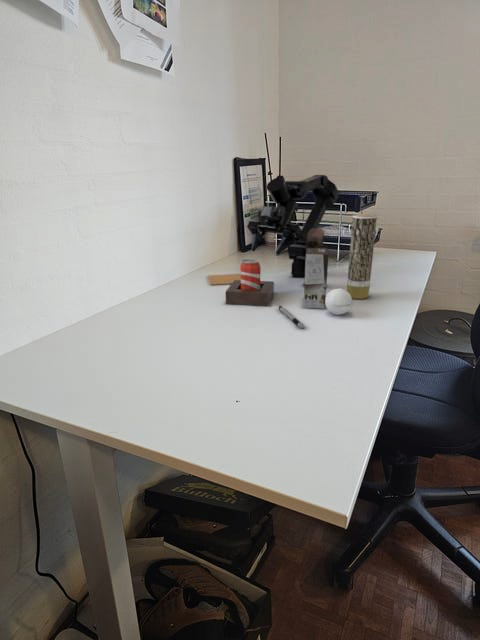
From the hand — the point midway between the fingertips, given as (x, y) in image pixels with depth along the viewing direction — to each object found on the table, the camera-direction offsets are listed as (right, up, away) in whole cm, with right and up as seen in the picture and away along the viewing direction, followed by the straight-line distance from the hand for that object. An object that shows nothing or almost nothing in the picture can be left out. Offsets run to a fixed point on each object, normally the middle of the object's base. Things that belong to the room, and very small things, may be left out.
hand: (264, 252), depth 128 cm
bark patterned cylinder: (+29, -14, -1) cm, 33 cm away
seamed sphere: (+21, -20, -15) cm, 33 cm away
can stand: (-4, -15, -1) cm, 15 cm away
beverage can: (-4, -15, -1) cm, 16 cm away
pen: (+6, -22, -18) cm, 29 cm away
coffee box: (+15, -17, -7) cm, 23 cm away
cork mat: (-13, -7, +20) cm, 25 cm away
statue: (+18, -10, +10) cm, 23 cm away
